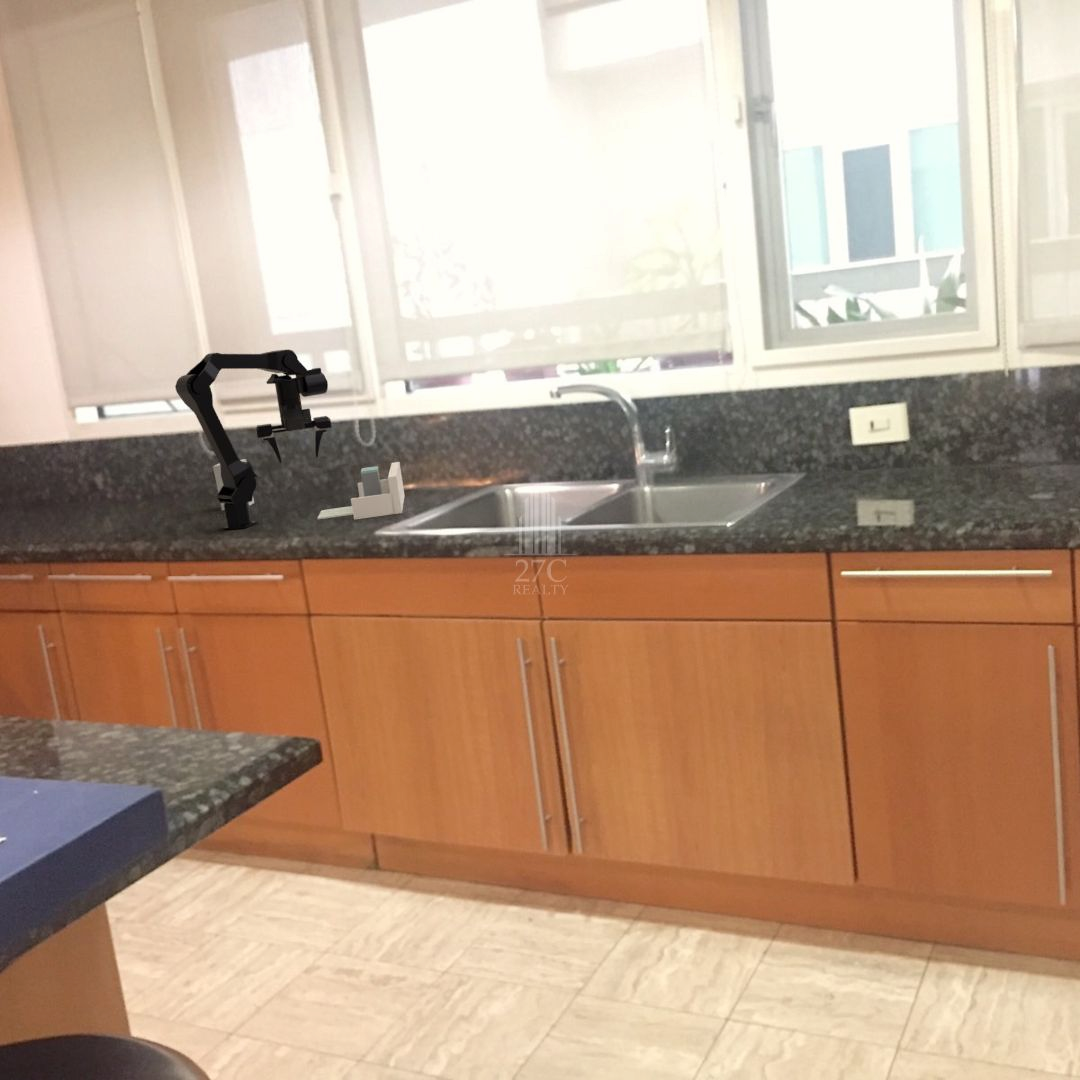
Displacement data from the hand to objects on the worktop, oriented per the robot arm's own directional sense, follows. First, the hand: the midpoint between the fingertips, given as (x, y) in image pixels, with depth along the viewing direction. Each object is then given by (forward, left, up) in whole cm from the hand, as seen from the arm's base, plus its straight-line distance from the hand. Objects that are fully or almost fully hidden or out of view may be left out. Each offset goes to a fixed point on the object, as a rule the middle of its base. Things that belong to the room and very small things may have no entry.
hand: (298, 460), depth 305 cm
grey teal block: (-4, -21, -13) cm, 25 cm away
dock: (-4, -22, -13) cm, 26 cm away
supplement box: (+14, +28, -13) cm, 34 cm away
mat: (-7, -13, -13) cm, 20 cm away
